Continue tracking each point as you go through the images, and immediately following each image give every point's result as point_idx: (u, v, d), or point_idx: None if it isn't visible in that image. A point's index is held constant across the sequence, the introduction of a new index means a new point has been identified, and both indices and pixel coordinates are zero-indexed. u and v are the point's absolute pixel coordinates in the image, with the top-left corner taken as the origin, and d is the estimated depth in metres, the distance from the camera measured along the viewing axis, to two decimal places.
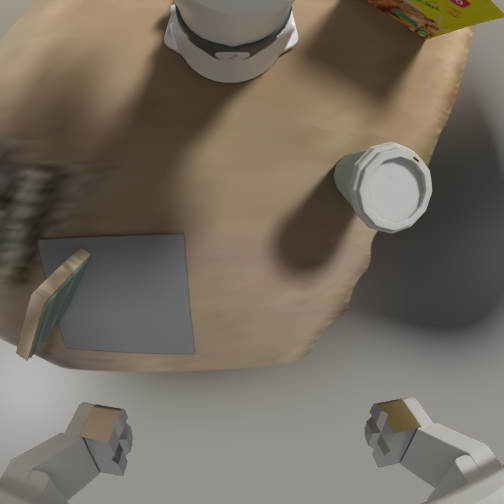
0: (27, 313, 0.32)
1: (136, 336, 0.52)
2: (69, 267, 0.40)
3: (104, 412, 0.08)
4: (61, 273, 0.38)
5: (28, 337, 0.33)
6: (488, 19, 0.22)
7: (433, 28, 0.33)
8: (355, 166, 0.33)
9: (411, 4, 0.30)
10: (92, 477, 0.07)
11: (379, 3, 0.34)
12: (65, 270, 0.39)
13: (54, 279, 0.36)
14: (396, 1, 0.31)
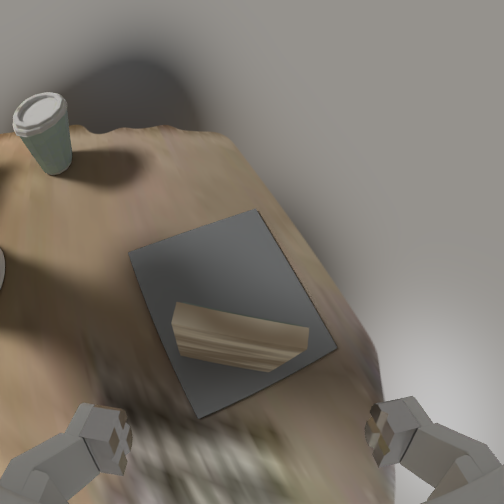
0: (210, 329, 0.27)
1: (264, 266, 0.48)
2: None
3: (104, 412, 0.08)
4: None
5: (256, 326, 0.27)
6: None
7: None
8: (27, 135, 0.39)
9: None
10: (92, 477, 0.07)
11: None
12: None
13: None
14: None
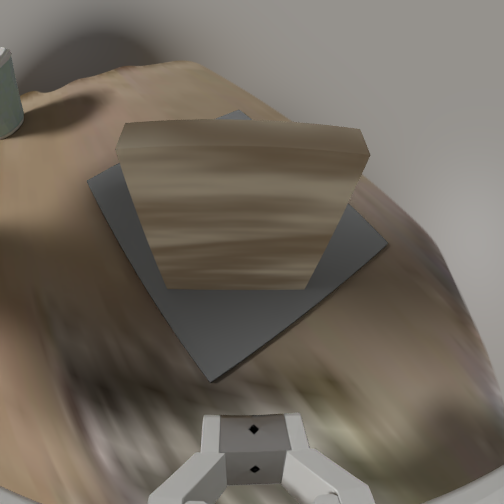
0: (185, 143, 0.14)
1: None
2: None
3: (236, 421, 0.08)
4: None
5: (270, 129, 0.14)
6: None
7: None
8: None
9: None
10: (221, 492, 0.07)
11: None
12: None
13: None
14: None
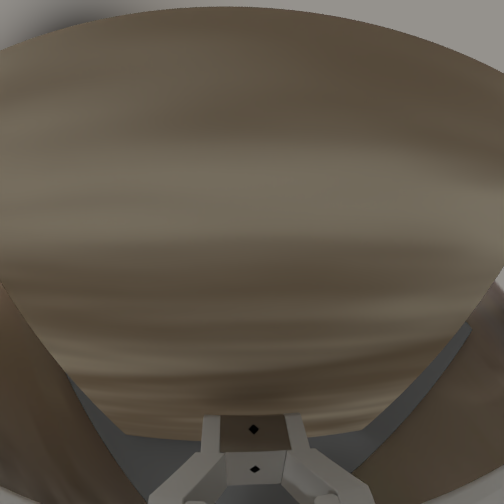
0: (80, 24, 0.03)
1: None
2: None
3: (236, 421, 0.08)
4: None
5: None
6: None
7: None
8: None
9: None
10: (221, 492, 0.07)
11: None
12: None
13: None
14: None
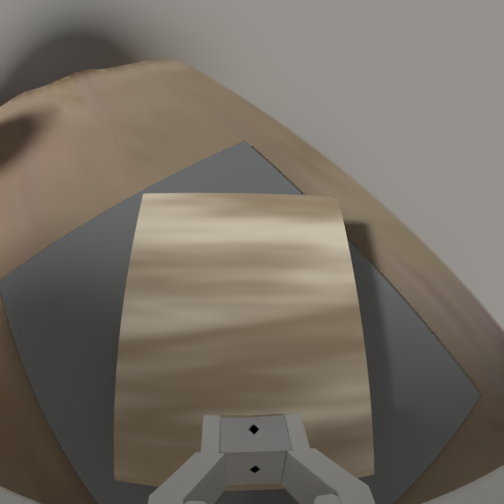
0: None
1: None
2: None
3: (236, 421, 0.08)
4: None
5: None
6: None
7: None
8: None
9: None
10: (221, 492, 0.07)
11: None
12: None
13: None
14: None
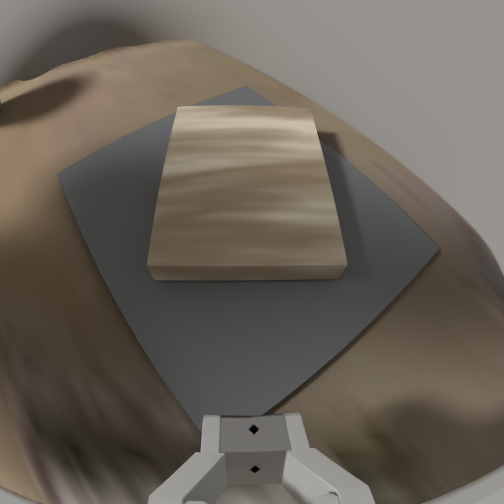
0: None
1: None
2: None
3: (236, 422, 0.08)
4: None
5: None
6: None
7: None
8: None
9: None
10: (221, 492, 0.07)
11: None
12: None
13: None
14: None
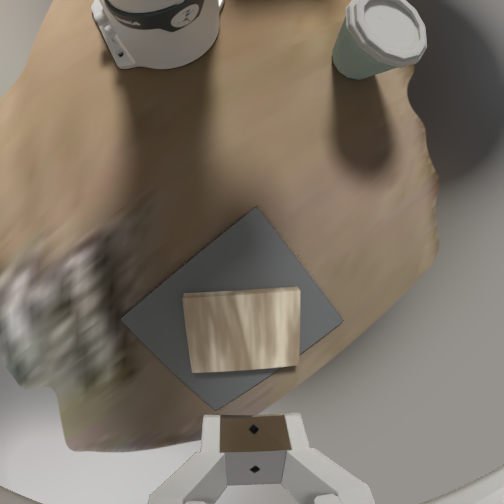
0: (299, 312, 0.44)
1: None
2: (230, 292, 0.44)
3: (236, 422, 0.08)
4: (248, 292, 0.44)
5: None
6: None
7: None
8: (348, 27, 0.27)
9: None
10: (221, 492, 0.07)
11: None
12: (239, 292, 0.44)
13: (263, 291, 0.44)
14: None
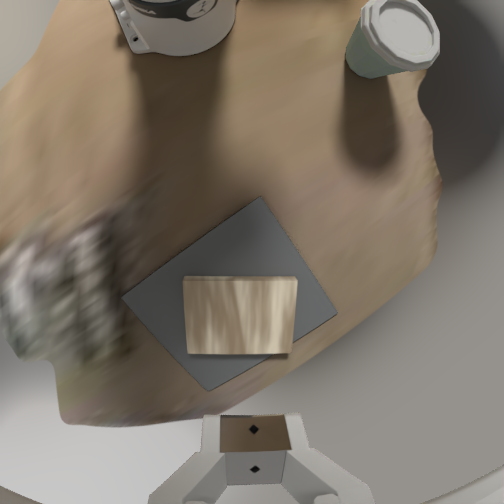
0: (295, 302, 0.46)
1: None
2: (229, 278, 0.45)
3: (236, 421, 0.08)
4: (246, 278, 0.45)
5: None
6: None
7: None
8: (362, 28, 0.27)
9: None
10: (221, 492, 0.07)
11: None
12: (238, 278, 0.45)
13: (261, 279, 0.45)
14: None
